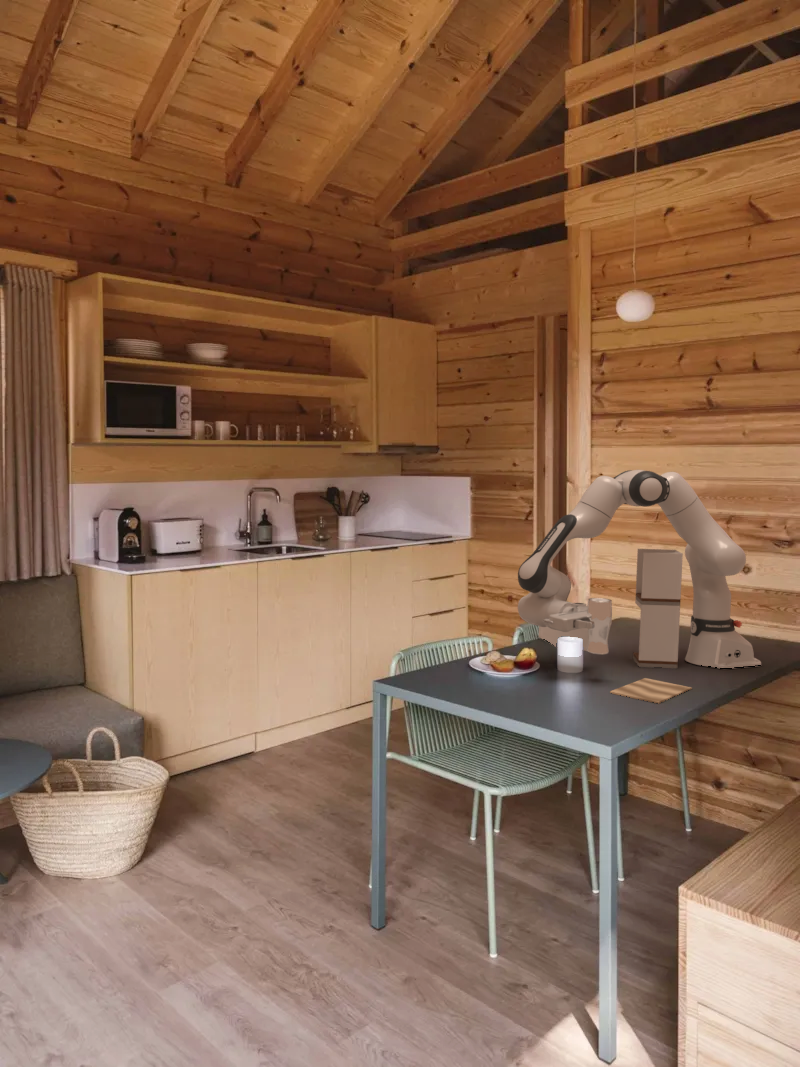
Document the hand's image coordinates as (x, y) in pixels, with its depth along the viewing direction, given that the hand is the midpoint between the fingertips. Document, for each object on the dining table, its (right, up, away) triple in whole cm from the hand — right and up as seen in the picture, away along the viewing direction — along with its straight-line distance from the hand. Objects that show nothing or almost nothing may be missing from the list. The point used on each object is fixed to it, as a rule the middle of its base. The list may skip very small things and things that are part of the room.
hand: (601, 624), depth 245 cm
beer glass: (-1, -8, +1) cm, 8 cm away
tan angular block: (+1, -12, +49) cm, 50 cm away
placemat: (+12, -18, -8) cm, 23 cm away
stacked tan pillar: (+22, -15, +24) cm, 36 cm away
